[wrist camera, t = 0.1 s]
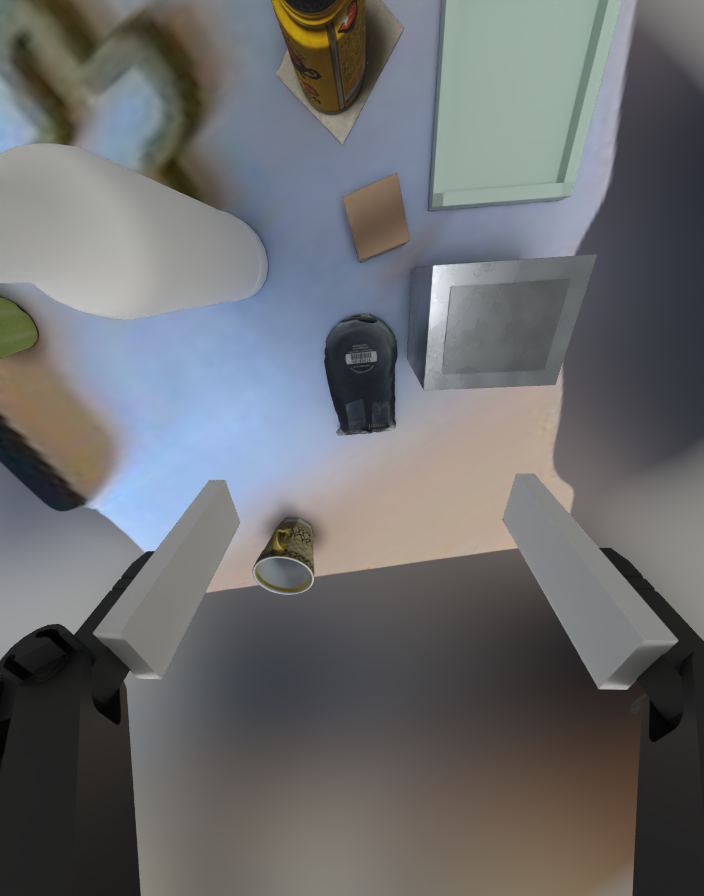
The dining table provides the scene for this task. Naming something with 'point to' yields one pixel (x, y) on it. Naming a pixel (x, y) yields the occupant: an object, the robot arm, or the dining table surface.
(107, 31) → the dining table surface
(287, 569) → the ceramic cup
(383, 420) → the electronic device
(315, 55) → the condiment
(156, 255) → the bottle
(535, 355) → the unit
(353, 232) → the walnut block
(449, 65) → the tray
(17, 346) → the plant pot
